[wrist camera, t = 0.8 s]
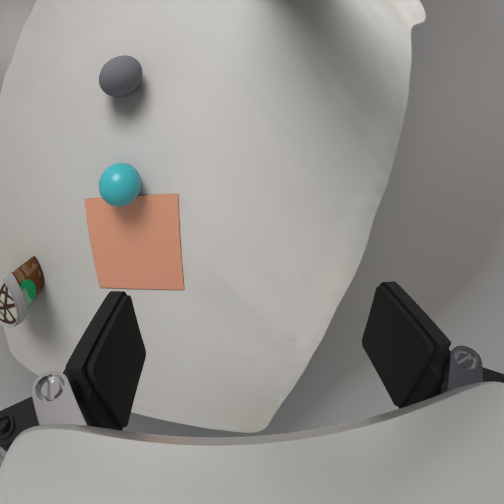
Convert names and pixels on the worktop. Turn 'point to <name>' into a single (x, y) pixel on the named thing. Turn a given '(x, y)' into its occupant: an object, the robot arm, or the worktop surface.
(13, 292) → the food container
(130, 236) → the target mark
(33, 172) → the worktop surface
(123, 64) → the grey ball
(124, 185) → the object ball
